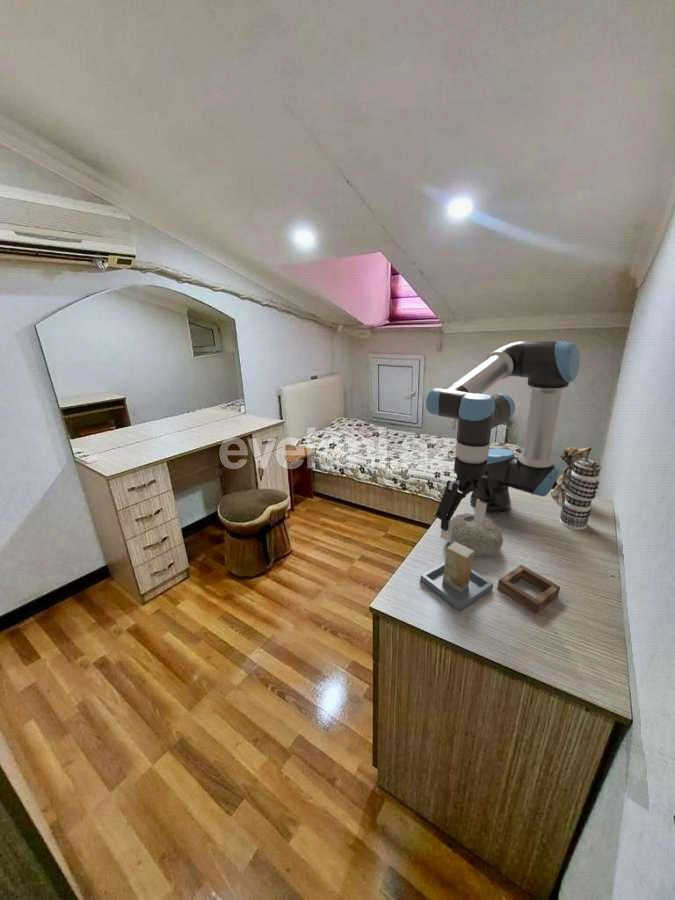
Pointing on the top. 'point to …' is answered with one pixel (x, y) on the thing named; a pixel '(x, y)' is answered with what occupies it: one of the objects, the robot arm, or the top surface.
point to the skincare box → (458, 566)
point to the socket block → (524, 598)
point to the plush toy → (567, 472)
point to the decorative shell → (476, 535)
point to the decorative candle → (580, 493)
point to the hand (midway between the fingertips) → (462, 530)
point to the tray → (453, 597)
